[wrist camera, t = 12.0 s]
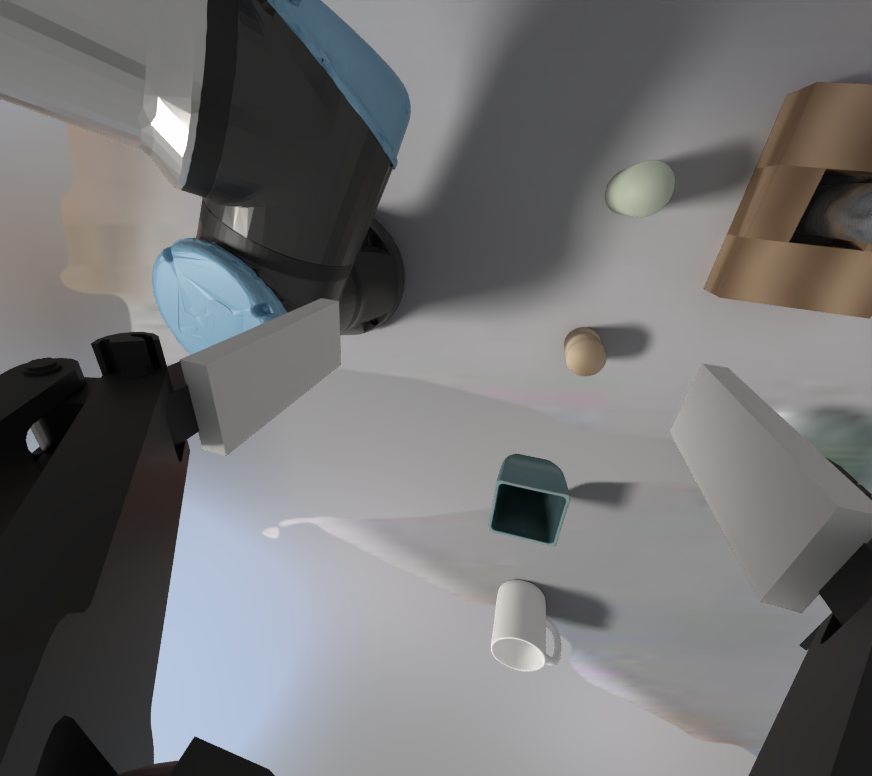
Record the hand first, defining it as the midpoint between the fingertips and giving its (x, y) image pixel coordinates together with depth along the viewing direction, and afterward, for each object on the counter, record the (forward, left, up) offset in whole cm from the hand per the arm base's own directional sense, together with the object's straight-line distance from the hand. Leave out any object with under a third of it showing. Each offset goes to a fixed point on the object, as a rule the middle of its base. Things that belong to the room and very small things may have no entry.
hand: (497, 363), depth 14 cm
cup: (+12, -57, -32) cm, 66 cm away
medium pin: (+8, +7, -32) cm, 33 cm away
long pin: (+24, +7, -32) cm, 40 cm away
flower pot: (+6, -29, -32) cm, 44 cm away
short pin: (+8, -9, -32) cm, 34 cm away
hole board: (+24, +7, -32) cm, 40 cm away
